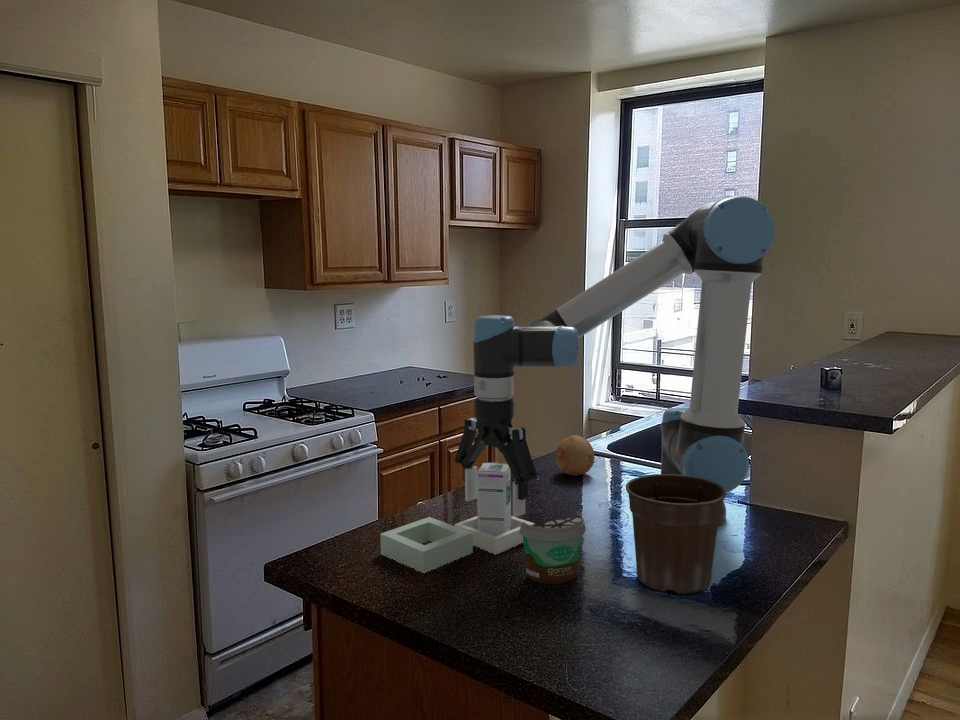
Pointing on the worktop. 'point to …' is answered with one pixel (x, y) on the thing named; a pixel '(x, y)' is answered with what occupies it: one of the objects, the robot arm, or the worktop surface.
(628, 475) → the worktop surface
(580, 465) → the onion
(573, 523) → the food container
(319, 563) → the worktop surface
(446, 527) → the socket
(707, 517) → the plant pot
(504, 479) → the syrup box
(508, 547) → the frame
